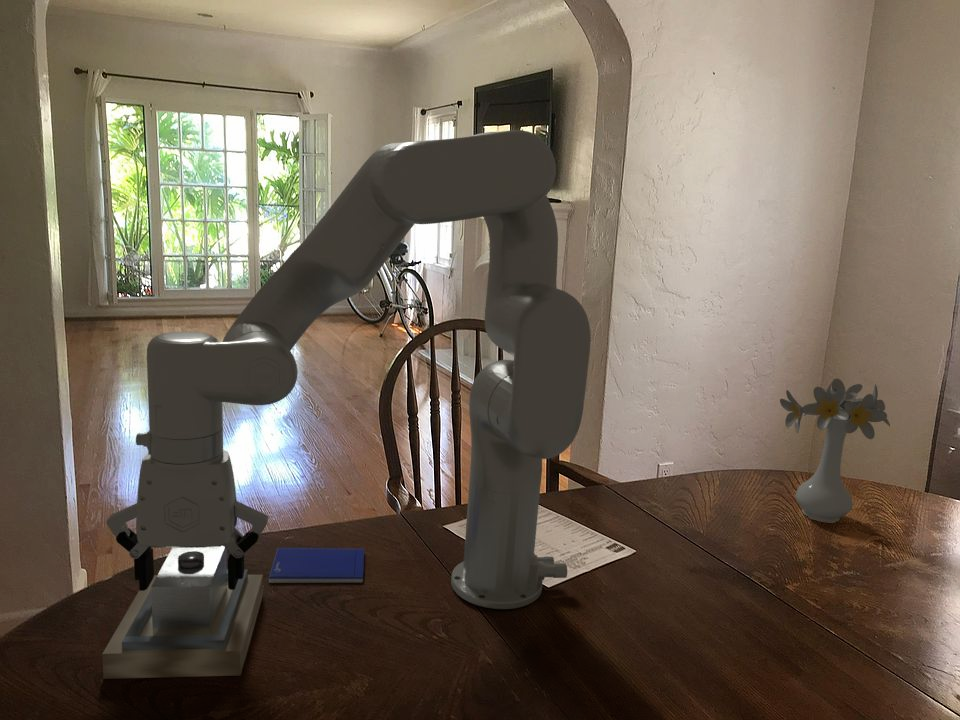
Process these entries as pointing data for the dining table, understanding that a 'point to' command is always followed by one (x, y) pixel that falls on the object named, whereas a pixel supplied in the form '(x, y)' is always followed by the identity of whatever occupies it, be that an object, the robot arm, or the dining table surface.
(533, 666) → the dining table surface
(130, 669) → the stand
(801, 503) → the flower vase
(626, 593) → the dining table surface
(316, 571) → the hard drive
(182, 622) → the block
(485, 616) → the dining table surface
